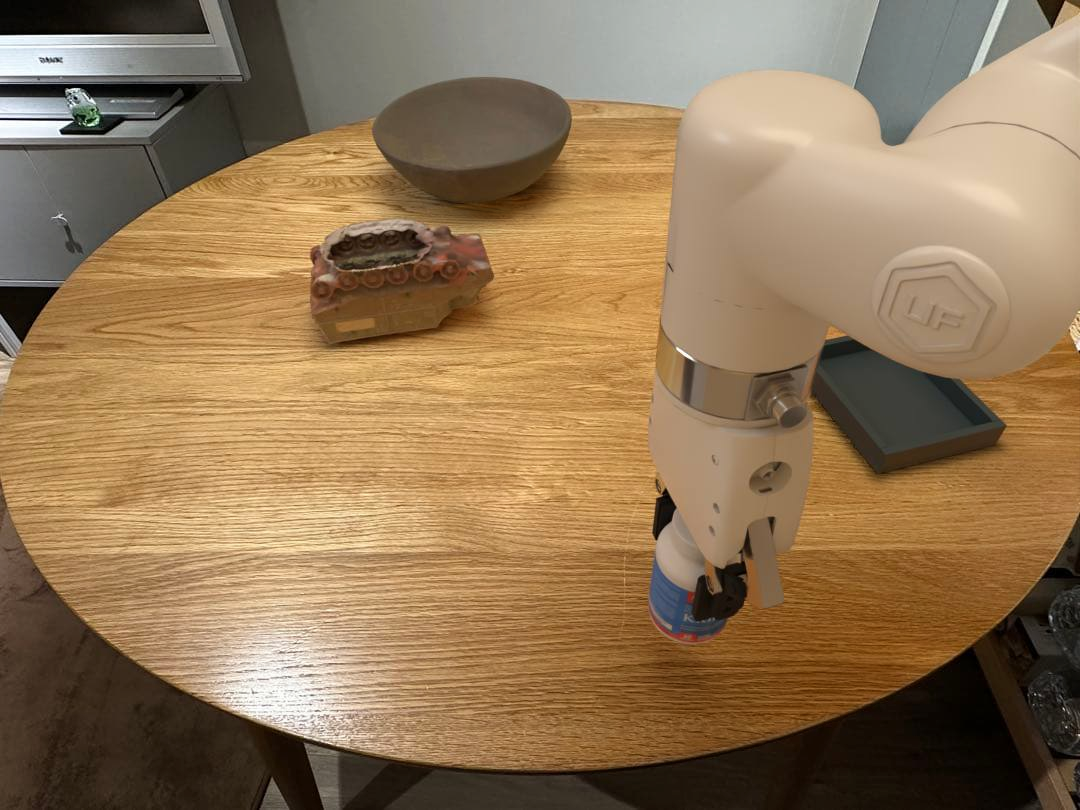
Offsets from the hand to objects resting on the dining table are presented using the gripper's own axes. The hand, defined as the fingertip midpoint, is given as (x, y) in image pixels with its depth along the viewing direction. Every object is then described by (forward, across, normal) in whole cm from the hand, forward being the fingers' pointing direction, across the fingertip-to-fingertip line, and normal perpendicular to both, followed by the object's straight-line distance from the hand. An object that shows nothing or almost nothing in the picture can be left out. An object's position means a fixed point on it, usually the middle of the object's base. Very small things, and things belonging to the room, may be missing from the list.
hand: (695, 569), depth 49 cm
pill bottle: (+5, 0, 0) cm, 5 cm away
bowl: (+10, +74, -2) cm, 75 cm away
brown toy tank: (+10, +48, +12) cm, 51 cm away
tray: (+11, +19, -30) cm, 38 cm away
